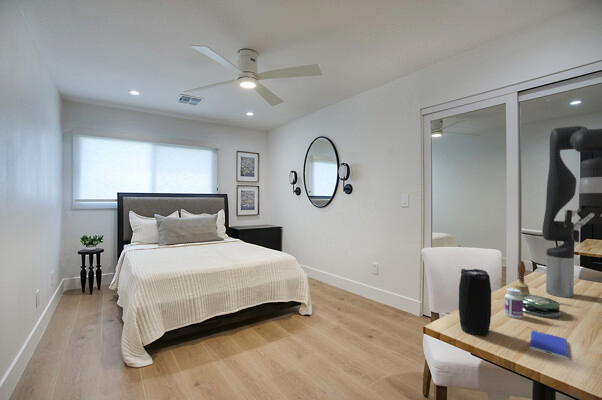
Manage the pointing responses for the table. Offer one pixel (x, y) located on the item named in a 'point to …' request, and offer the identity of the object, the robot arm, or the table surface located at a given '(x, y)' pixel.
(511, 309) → the pill bottle
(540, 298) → the levelling base
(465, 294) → the portable speaker
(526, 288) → the hand bell
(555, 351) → the hard drive
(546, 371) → the table surface
